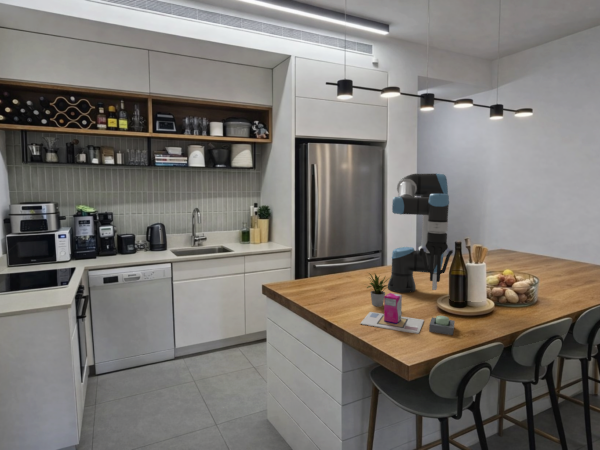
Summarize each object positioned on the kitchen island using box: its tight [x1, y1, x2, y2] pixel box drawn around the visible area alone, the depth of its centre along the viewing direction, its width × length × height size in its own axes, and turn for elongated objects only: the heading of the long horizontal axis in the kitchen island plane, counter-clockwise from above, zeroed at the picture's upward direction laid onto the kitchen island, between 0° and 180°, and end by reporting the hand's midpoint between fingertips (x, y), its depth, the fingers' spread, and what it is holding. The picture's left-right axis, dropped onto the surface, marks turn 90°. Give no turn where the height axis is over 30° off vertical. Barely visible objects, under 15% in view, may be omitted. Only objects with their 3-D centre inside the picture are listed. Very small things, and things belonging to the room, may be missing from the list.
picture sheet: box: [359, 311, 425, 335], centre depth 172 cm, size 16×24×1 cm, turn 66°
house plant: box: [364, 272, 392, 307], centre depth 195 cm, size 14×14×16 cm
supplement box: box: [383, 292, 403, 324], centre depth 172 cm, size 6×6×12 cm
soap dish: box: [428, 317, 456, 336], centre depth 165 cm, size 9×9×3 cm
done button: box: [435, 315, 450, 326], centre depth 164 cm, size 5×5×4 cm
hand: (434, 289), depth 164 cm, fingers closed
